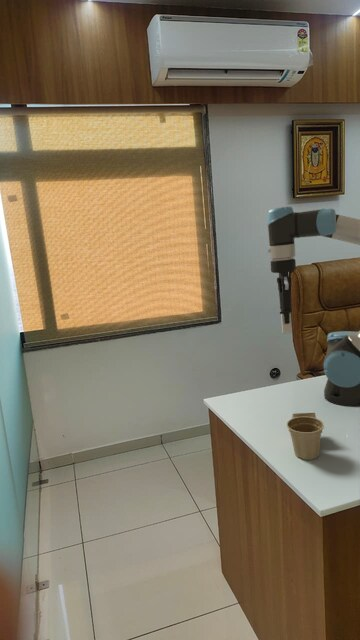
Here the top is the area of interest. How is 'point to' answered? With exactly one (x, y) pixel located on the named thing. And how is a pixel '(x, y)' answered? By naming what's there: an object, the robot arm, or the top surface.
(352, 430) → the top surface
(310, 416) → the tan cube
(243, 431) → the top surface
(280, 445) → the top surface
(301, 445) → the flower pot
